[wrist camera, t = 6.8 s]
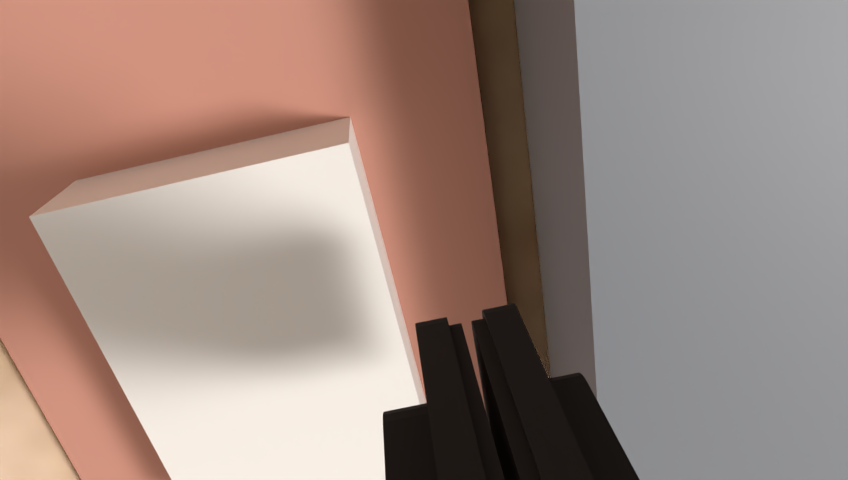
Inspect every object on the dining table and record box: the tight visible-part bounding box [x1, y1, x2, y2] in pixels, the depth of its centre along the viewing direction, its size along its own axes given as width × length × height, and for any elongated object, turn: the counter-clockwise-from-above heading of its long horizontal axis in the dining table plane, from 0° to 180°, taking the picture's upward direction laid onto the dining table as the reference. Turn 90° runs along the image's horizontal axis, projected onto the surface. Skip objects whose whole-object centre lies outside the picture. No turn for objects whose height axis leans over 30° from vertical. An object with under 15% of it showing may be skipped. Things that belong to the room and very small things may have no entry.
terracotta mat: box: [0, 0, 507, 480], centre depth 15 cm, size 24×12×1 cm, turn 10°
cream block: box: [29, 117, 426, 480], centre depth 14 cm, size 9×6×2 cm, turn 12°
